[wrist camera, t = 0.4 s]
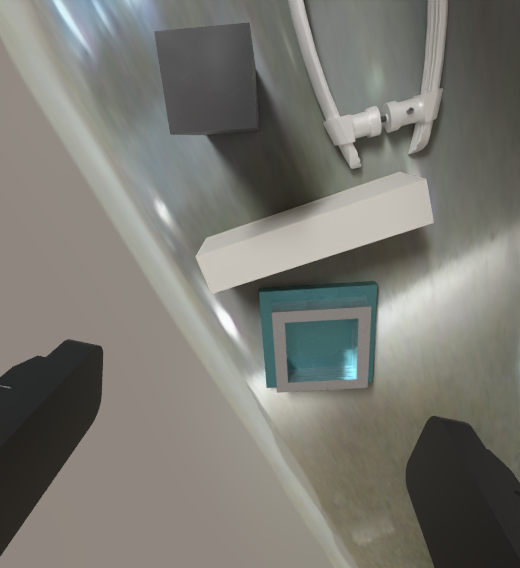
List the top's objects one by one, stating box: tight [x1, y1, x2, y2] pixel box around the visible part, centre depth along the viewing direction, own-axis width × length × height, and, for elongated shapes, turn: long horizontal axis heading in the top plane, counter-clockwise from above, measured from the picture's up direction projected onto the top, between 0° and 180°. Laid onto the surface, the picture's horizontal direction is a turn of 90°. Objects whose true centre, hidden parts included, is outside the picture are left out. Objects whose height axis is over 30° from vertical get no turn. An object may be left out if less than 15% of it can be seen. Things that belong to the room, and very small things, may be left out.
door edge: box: [196, 172, 434, 294], centre depth 27 cm, size 16×3×5 cm, turn 109°
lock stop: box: [155, 23, 260, 135], centre depth 21 cm, size 4×4×11 cm
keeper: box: [259, 281, 377, 393], centre depth 32 cm, size 10×10×3 cm
